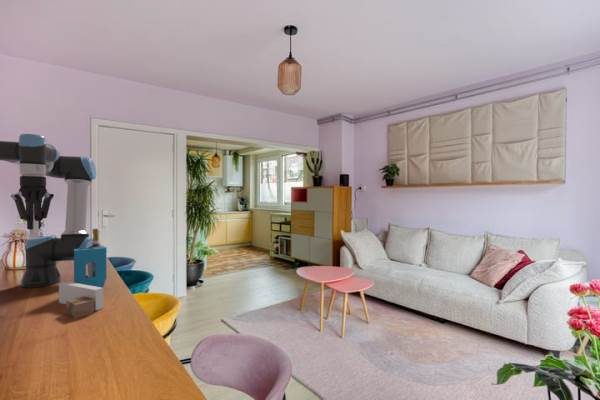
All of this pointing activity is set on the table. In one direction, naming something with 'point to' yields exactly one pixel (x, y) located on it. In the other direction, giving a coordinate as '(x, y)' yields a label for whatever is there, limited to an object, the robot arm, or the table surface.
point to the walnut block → (80, 307)
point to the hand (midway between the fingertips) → (34, 237)
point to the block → (83, 258)
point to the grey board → (80, 293)
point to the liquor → (95, 244)
